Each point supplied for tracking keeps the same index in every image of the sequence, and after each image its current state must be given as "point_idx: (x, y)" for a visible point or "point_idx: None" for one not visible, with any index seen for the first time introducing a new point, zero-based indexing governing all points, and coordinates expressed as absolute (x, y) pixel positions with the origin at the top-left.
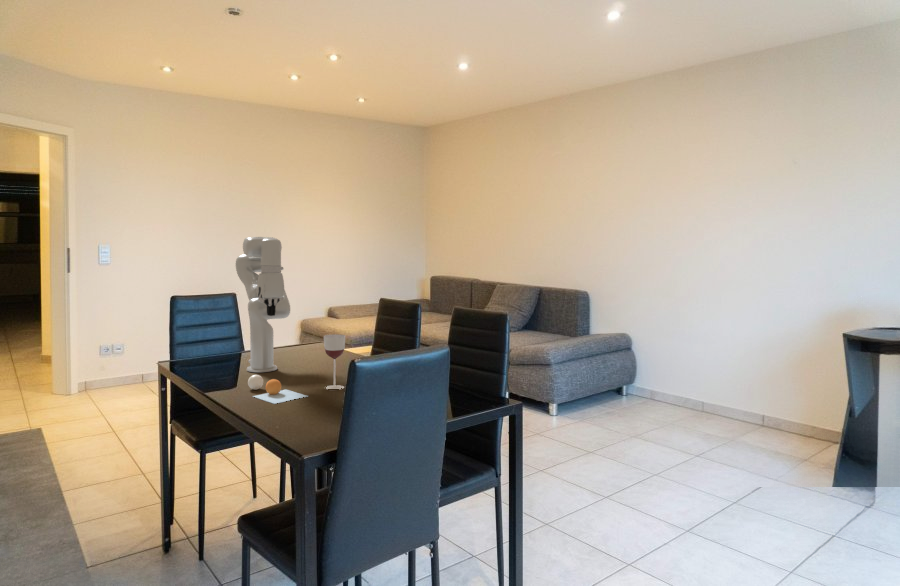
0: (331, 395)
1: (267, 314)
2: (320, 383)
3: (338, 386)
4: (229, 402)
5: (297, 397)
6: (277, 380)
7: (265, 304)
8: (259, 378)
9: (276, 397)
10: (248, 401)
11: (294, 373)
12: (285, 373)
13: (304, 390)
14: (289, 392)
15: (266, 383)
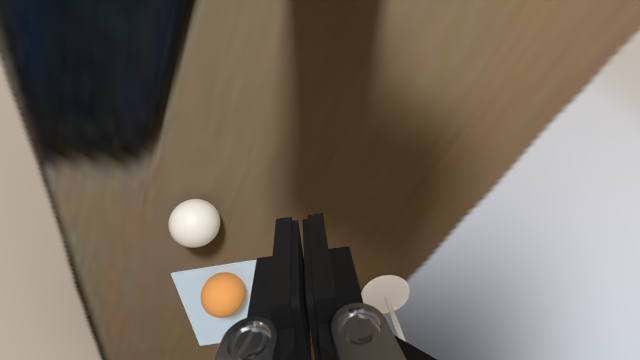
0: None
1: (276, 222)
2: (385, 243)
3: (392, 302)
4: (105, 289)
5: None
6: (229, 313)
7: (224, 335)
8: (198, 246)
9: None
10: (151, 302)
11: (405, 73)
12: (381, 50)
13: None
14: None
15: (202, 295)
